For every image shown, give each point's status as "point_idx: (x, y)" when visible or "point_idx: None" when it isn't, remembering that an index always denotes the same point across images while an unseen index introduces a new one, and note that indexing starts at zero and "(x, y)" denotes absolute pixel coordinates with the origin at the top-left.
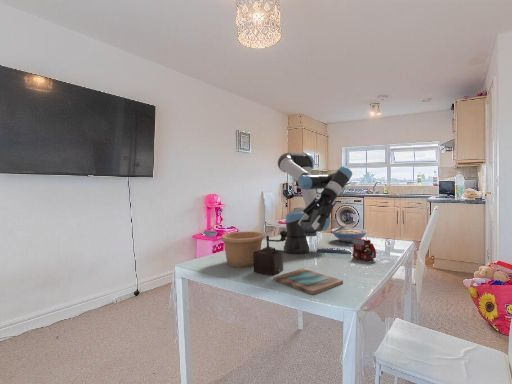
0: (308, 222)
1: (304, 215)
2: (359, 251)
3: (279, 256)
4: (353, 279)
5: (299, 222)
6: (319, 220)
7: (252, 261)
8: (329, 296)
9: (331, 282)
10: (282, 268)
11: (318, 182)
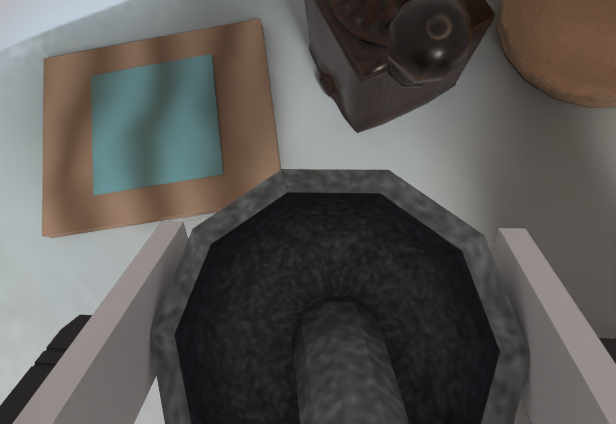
0: (231, 215)
1: (590, 394)
2: None
3: (339, 57)
4: (52, 317)
5: (502, 243)
6: (58, 339)
7: (507, 17)
8: (8, 101)
9: (58, 176)
10: (352, 122)
11: None
